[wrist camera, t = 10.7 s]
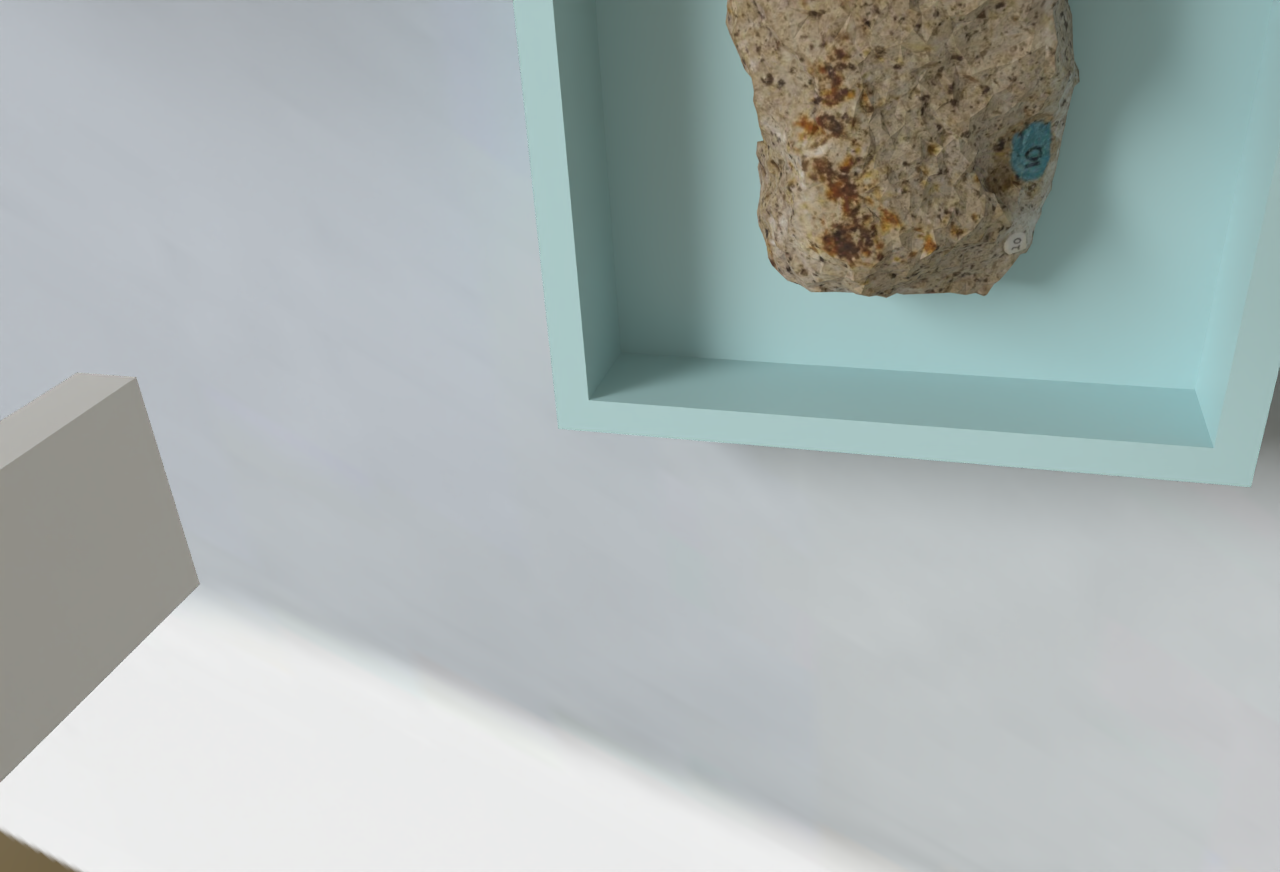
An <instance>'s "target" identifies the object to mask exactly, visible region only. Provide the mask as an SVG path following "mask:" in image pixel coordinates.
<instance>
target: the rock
mask: <svg viewBox="0 0 1280 872" xmlns="http://www.w3.org/2000/svg"><path fill="white" fill-rule="evenodd" d="M726 25H727V28H728V31H729V34H730V36H731V38H732V41H733V43H734V45H735V47H736V49H737V52H738V54H739V56H740V59H741V62H742V64H743V67H744V69H745V71H746V72H747V73H748V74H749V76H750V77H751V79H752V84H753V89H754V96H753V103H754V106H755V109H756V112H757V116H758V123H759V128H760V130H761V135H762V138H763V141H758V142H757V149H756V155H757V158H758V161H759V163H758V173H759V179H760V185H761V187H760V198H759V203H758V209H757V217H758V224H759V227H760V230H761V232H762V234H763V237H764V240H765V243H766V246H767V253H768V258H769V260H770V263H771V265H772V266H773V267H774V268H775V269H776V270H777V271H778V272H779V273H780V274H781V275H782V276H783V277H784V278H785V279H786V280H787V281H790V282H793V283H796V284H799V285H801V286H803V287H804V288H806V289H807V290H808V291H810V292H848V293H855V294H858V295H863V296H868V297H871V296H880V297H885V298H887V297H890V296H892V295H894V294H896V293H898V294H903V295H905V294H935V293H956V294H962V295H969V294H973V293H977V294H979V295H982V296H985V295H987V294H988V292H989V291H990V289H991V288H992V286H993V285H994V284H995V283H996V282H998V281H999V280H1000V279H1001V278H1002V277H1003V276H1004V275H1005V274H1006V272H1007V271H1008V270H1009V269H1010V268H1011V266H1012V265H1013V264H1014V262H1015V261H1016V260H1017V258H1018V257H1019V256H1020V254H1023V253H1027V251H1028V249H1029V248H1030V246H1031V244H1032V241H1033V235H1034V230H1035V226H1036V224H1037V222H1038V220H1039V218H1040V216H1041V212H1042V207H1043V205H1044V202H1045V200H1046V198H1047V197H1048V195H1049V193H1050V191H1051V190H1052V182H1053V178H1054V174H1055V170H1056V166H1057V162H1058V157H1059V152H1060V147H1061V142H1062V136H1063V132H1064V129H1065V124H1066V118H1067V112H1068V110H1069V106H1070V101H1071V97H1072V94H1073V90H1074V87H1075V86H1076V85H1077V84H1078V83H1079V82H1080V80H1079V69H1078V67H1077V65H1076V63H1075V60H1074V51H1073V23H1072V13H1071V10H1070V6H1069V3H1068V0H727V14H726Z"/></svg>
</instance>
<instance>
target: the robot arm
mask: <svg viewBox="0 0 1280 872" xmlns="http://www.w3.org/2000/svg"><path fill="white" fill-rule="evenodd" d="M199 585H200V583H199V580H198V577H197V574H196V570H195V567H194V564H193V561H192V557H191V554H190V551H189V548H188V544H187V541H186V538H185V535H184V531H183V528H182V525H181V522H180V518H179V515H178V512H177V509H176V505H175V502H174V499H173V496H172V492H171V489H170V486H169V483H168V479H167V476H166V473H165V470H164V466H163V463H162V460H161V457H160V453H159V450H158V447H157V444H156V440H155V437H154V434H153V431H152V427H151V424H150V421H149V418H148V414H147V411H146V408H145V405H144V401H143V398H142V395H141V392H140V388H139V385H138V382H137V379H136V377H127V376H114V375H101V374H89V373H76V374H74V375H73V376H71V377H69V378H68V379H66V380H65V381H63V382H61V383H60V384H58V385H57V386H55V387H54V388H52V389H50V390H49V391H47V392H46V393H44V394H42V395H41V396H39V397H38V398H36V399H35V400H33V401H31V402H30V403H28V404H27V405H25V406H23V407H22V408H20V409H19V410H17V411H15V412H14V413H12V414H11V415H9V416H8V417H6V418H4V419H3V420H1V421H0V782H1V781H2V780H3V779H4V778H5V777H6V776H7V775H8V774H9V773H10V772H11V771H12V770H13V769H14V768H15V767H16V766H17V765H18V764H19V763H20V762H21V761H22V760H23V759H24V758H25V757H26V756H27V755H28V754H29V753H30V752H31V751H32V750H33V749H34V748H35V747H36V746H37V745H38V744H39V743H40V742H41V741H42V740H43V739H44V738H45V737H47V736H48V735H49V734H50V733H51V732H52V731H53V730H54V729H55V728H56V727H57V726H58V725H59V724H60V723H61V722H62V721H63V720H64V719H65V718H66V717H67V716H68V715H69V714H70V713H71V712H72V711H73V710H74V709H75V708H76V707H77V706H78V705H79V704H80V703H81V702H82V701H83V700H84V699H85V698H86V697H87V696H88V695H89V694H90V693H91V692H92V691H93V690H94V689H95V688H96V687H97V686H98V685H99V684H100V683H101V682H102V681H103V680H104V679H105V678H106V677H107V676H108V675H109V674H110V673H111V672H112V671H113V670H114V669H115V668H116V667H117V666H118V665H119V664H120V663H121V662H122V661H123V660H124V659H125V658H126V657H127V656H128V655H129V654H130V653H131V652H132V651H133V650H134V649H135V648H136V647H137V646H138V645H139V644H140V643H141V642H142V641H143V640H144V639H145V638H146V637H147V636H148V635H149V634H150V633H151V632H152V631H153V630H154V629H155V628H156V627H157V626H158V625H159V624H160V623H161V622H162V621H163V620H164V619H165V618H166V617H167V616H168V615H169V614H170V613H171V612H172V611H173V610H174V609H175V608H176V607H177V606H178V605H179V604H180V603H182V602H183V601H184V600H185V599H186V598H187V597H188V596H189V595H190V594H191V593H192V592H193V591H194V590H195V589H196V588H197V587H198V586H199Z"/></svg>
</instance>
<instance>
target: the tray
mask: <svg viewBox="0 0 1280 872" xmlns="http://www.w3.org/2000/svg"><path fill="white" fill-rule="evenodd" d="M1068 3H1069V6H1070V10H1071V13H1072V23H1073V51H1074V60H1075V63H1076V65H1077V67H1078V69H1079V80H1080V82H1079V83H1078V84H1077V85H1076V86H1075V87H1074V90H1073V94H1072V97H1071V101H1070V106H1069V110H1068V112H1067V118H1066V124H1065V129H1064V132H1063V136H1062V142H1061V147H1060V152H1059V157H1058V162H1057V166H1056V170H1055V174H1054V178H1053V182H1052V190H1051V191H1050V193H1049V195H1048V197H1047V198H1046V200H1045V202H1044V205H1043V207H1042V212H1041V216H1040V218H1039V220H1038V222H1037V224H1036V226H1035V230H1034V235H1033V241H1032V244H1031V246H1030V248H1029V249H1028V251H1027V253H1023V254H1020V256H1019V257H1018V258H1017V260H1016V261H1015V262H1014V264H1013V265H1012V266H1011V268H1010V269H1009V270H1008V271H1007V272H1006V274H1005V275H1004V276H1003V277H1002V278H1001V279H1000V280H999V281H998V282H996V283H995V284H994V285H993V286H992V288H991V289H990V291H989V292H988V294H987V295H985V296H982V295H979V294H977V293H973V294H969V295H962V294H956V293H935V294H905V295H903V294H898V293H896V294H894V295H892V296H890V297H887V298H885V297H880V296H871V297H868V296H863V295H858V294H855V293H848V292H810V291H808V290H807V289H806V288H804V287H803V286H801V285H799V284H796V283H793V282H790V281H787V280H786V279H785V278H784V277H783V276H782V275H781V274H780V273H779V272H778V271H777V270H776V269H775V268H774V267H773V266H772V265H771V263H770V260H769V258H768V253H767V246H766V243H765V240H764V237H763V234H762V232H761V230H760V227H759V224H758V217H757V209H758V203H759V198H760V187H761V185H760V179H759V173H758V163H759V161H758V158H757V155H756V149H757V142H758V141H763V138H762V135H761V130H760V128H759V123H758V116H757V112H756V109H755V106H754V103H753V96H754V89H753V84H752V79H751V77H750V76H749V74H748V73H747V72H746V71H745V69H744V67H743V64H742V62H741V59H740V56H739V54H738V52H737V49H736V47H735V45H734V43H733V41H732V38H731V36H730V34H729V31H728V28H727V25H726V14H727V0H513V7H514V16H515V26H516V35H517V44H518V54H519V63H520V73H521V82H522V91H523V101H524V110H525V120H526V129H527V138H528V148H529V157H530V167H531V176H532V185H533V195H534V204H535V214H536V223H537V232H538V242H539V251H540V261H541V270H542V279H543V289H544V298H545V308H546V317H547V326H548V336H549V345H550V355H551V364H552V373H553V383H554V392H555V402H556V411H557V420H558V429H568V430H580V431H592V432H603V433H615V434H627V435H639V436H651V437H663V438H675V439H686V440H698V441H710V442H722V443H734V444H746V445H757V446H769V447H781V448H793V449H805V450H817V451H829V452H840V453H852V454H864V455H876V456H888V457H900V458H911V459H923V460H935V461H947V462H959V463H971V464H982V465H994V466H1006V467H1018V468H1030V469H1042V470H1054V471H1065V472H1077V473H1089V474H1101V475H1113V476H1125V477H1136V478H1148V479H1160V480H1172V481H1184V482H1196V483H1208V484H1219V485H1231V486H1243V487H1251V485H1252V480H1253V476H1254V472H1255V468H1256V464H1257V460H1258V455H1259V451H1260V447H1261V443H1262V439H1263V434H1264V430H1265V426H1266V422H1267V418H1268V414H1269V409H1270V405H1271V401H1272V397H1273V393H1274V388H1275V384H1276V380H1277V376H1278V372H1279V368H1280V0H1068Z"/></svg>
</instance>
